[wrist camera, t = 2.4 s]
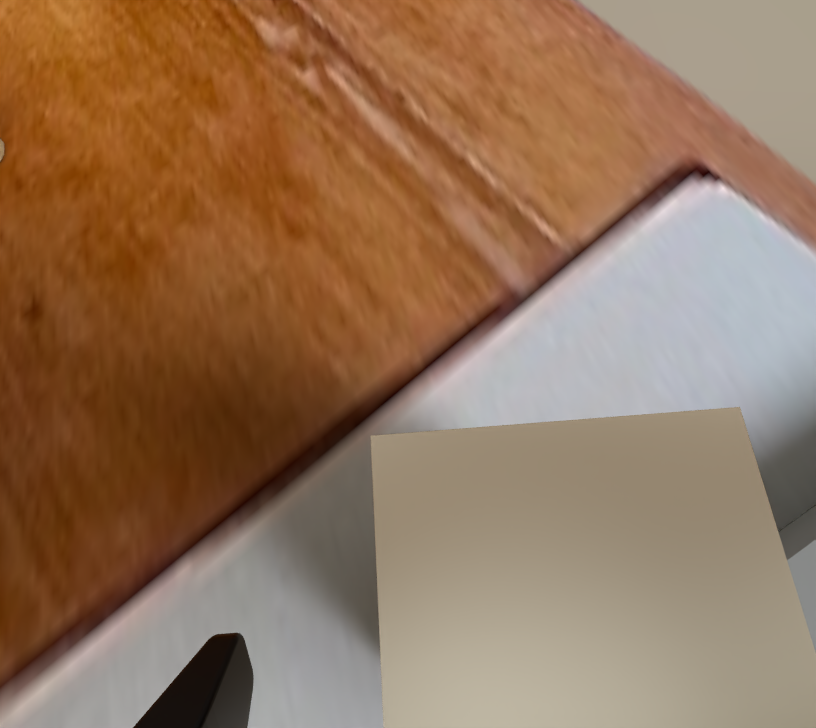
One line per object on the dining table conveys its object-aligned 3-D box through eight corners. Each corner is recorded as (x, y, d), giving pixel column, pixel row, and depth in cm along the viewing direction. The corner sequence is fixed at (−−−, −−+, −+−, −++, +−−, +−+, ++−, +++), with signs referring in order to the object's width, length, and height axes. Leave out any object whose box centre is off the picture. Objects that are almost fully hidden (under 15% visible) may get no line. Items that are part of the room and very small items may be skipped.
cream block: (578, 677, 15) (886, 881, 5) (417, 689, 15) (392, 914, 5) (551, 511, 17) (739, 407, 7) (406, 522, 17) (370, 436, 7)
